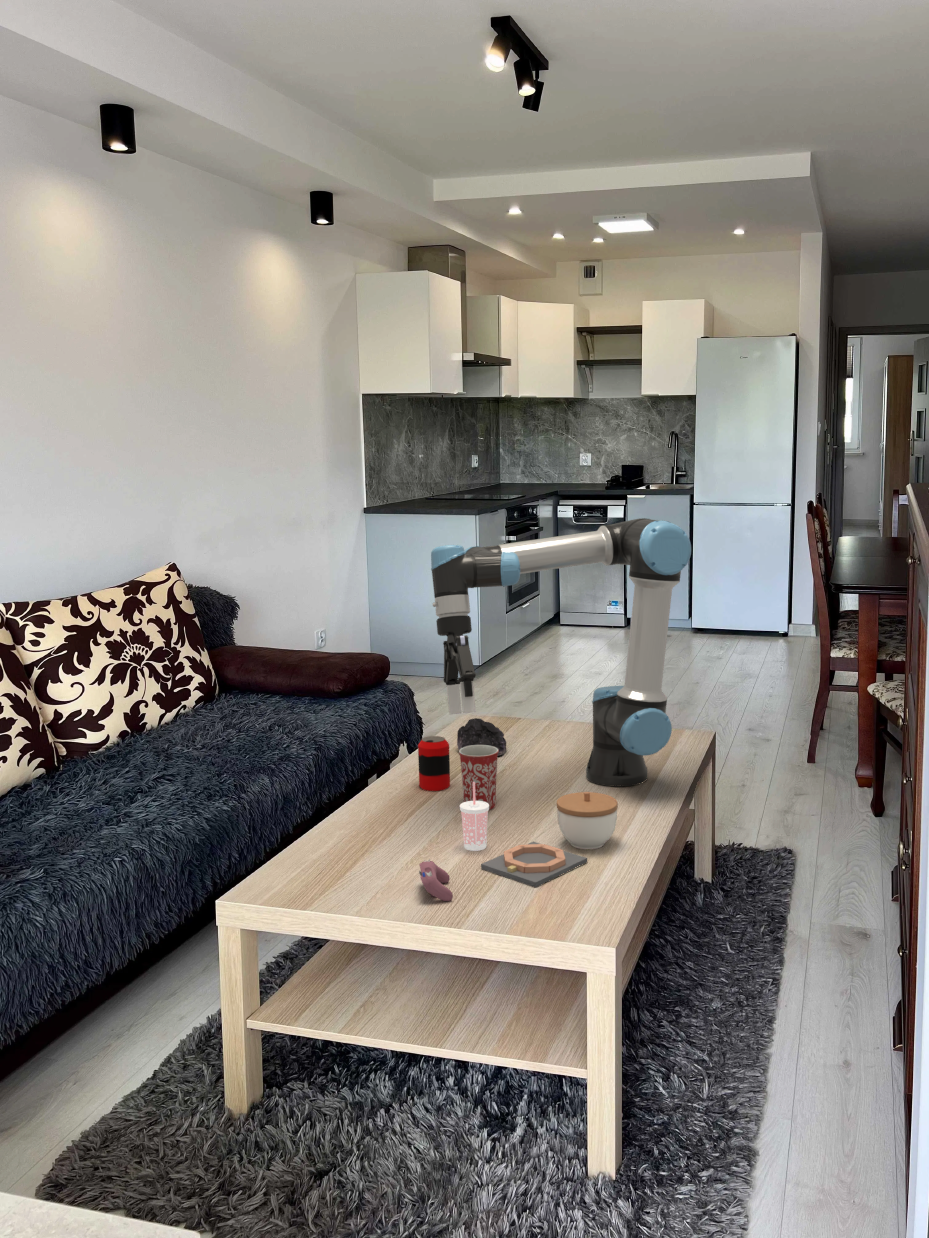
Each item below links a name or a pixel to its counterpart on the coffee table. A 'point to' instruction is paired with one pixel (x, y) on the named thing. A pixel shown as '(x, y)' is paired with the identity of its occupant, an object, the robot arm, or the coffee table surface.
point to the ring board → (533, 863)
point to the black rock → (481, 735)
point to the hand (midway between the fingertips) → (462, 713)
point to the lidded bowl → (587, 818)
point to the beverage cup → (474, 823)
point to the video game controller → (435, 880)
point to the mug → (479, 773)
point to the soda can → (434, 763)
